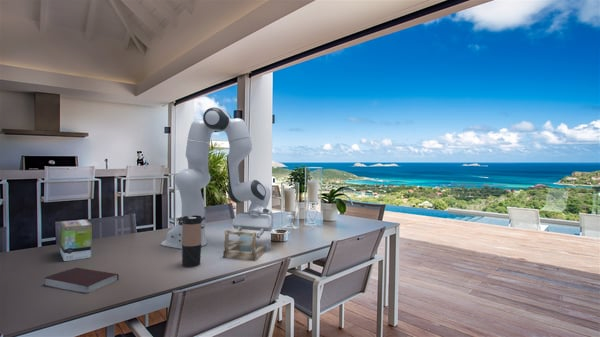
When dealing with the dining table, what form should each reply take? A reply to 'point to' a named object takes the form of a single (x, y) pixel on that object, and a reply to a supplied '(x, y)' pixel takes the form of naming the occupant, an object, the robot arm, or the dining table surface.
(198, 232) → the travel mug
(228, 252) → the rack
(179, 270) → the dining table surface
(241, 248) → the grey upright block
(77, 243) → the tea box
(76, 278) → the book
